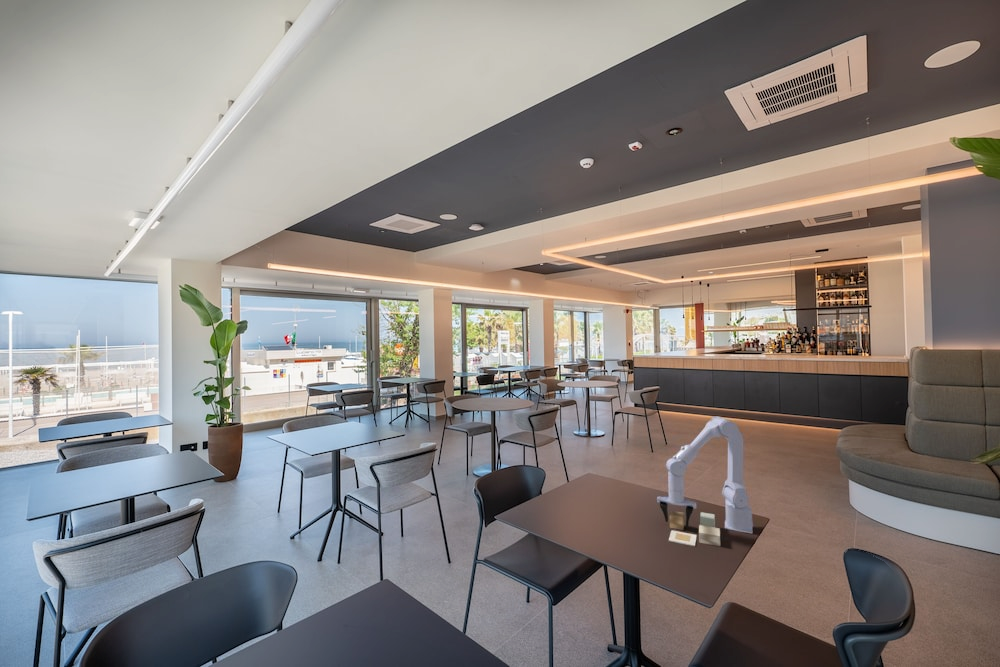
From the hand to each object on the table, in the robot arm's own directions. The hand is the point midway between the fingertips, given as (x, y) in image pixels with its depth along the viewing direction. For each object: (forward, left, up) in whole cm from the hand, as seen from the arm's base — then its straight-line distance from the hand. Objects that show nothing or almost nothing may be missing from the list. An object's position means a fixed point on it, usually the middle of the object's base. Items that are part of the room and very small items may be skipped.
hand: (676, 522), depth 166 cm
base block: (-12, +7, -2) cm, 14 cm away
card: (-3, +10, -1) cm, 11 cm away
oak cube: (0, 0, -2) cm, 2 cm away
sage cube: (-11, -4, -2) cm, 12 cm away
